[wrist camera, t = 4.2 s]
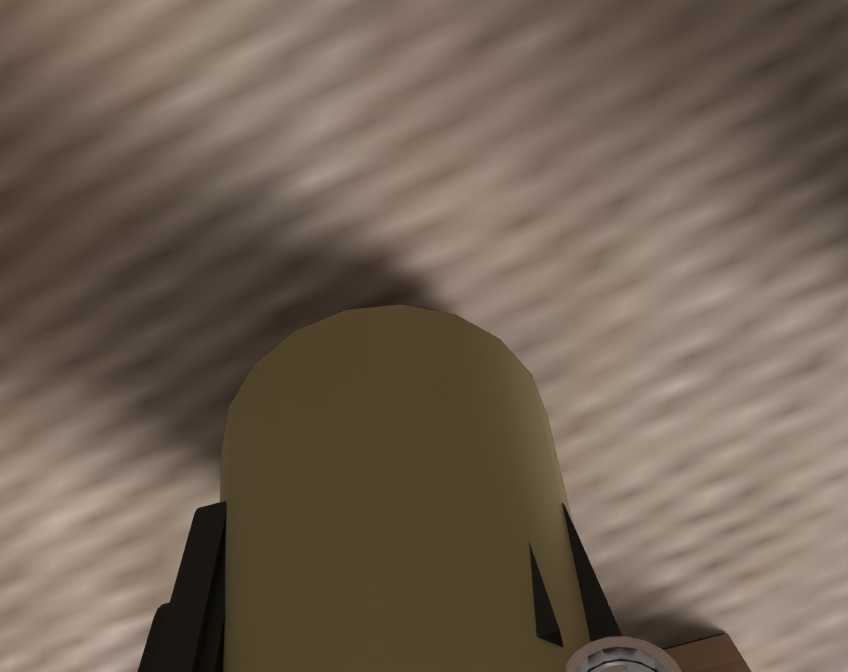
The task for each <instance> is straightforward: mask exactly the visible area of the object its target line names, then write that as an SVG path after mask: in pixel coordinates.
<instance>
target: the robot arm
mask: <svg viewBox="0 0 848 672" xmlns="http://www.w3.org/2000/svg"><path fill="white" fill-rule="evenodd" d="M562 505H563V510H564V514H565V519H566V524H567V529H568V534H569V539H570V544H571V548H572V553H573V558H574V563H575V568H576V573H577V578H578V583H579V588H580V593H581V597H582V602H583V607H584V612H585V617H586V622H587V627H588V632H589V637H590V643H588V644H587V645H585V646H584V647H582V648H580V649H579V650H577V651H576V652H575V653H574V654H573V655H572V656H571V658H570V659H569V660H568V661H567V663H566V670H567V672H682V671H681V669H680V668H679V666H678V664H677V662H676V661H674V660H673V659H672V658H671V657H670V656H669V655H668V654H667V653H666V652H665V651H664V650H663V649H661V648H659V647H657V646H655V645H653V644H651V643H649V642H647V641H645V640H641V639H636V638H632V637H628V636H622V634H621V632H620V630H619V627H618V625H617V623H616V621H615V618H614V616H613V614H612V612H611V609H610V607H609V605H608V602H607V600H606V598H605V596H604V593H603V591H602V589H601V586H600V584H599V582H598V580H597V577H596V575H595V573H594V571H593V568H592V566H591V564H590V561H589V559H588V557H587V555H586V552H585V550H584V548H583V546H582V543H581V541H580V539H579V536H578V534H577V532H576V530H575V527H574V525H573V523H572V520H571V518H570V516H569V514H568V511H567V509H566V507H565V505H564V503H563V502H562ZM226 513H227V504H226V501H223V502H219V503H216V504H212V505H208V506H204V507H200V508H198V509H197V510H196V512H195V514H194V517H193V521H192V525H191V528H190V532H189V535H188V539H187V543H186V546H185V550H184V553H183V557H182V561H181V564H180V568H179V571H178V575H177V579H176V582H175V586H174V589H173V593H172V597H171V600H170V603H166V604H162V605H161V606H160V607H159V608H158V609H157V611H156V614H155V616H154V619H153V622H152V625H151V629H150V632H149V635H148V639H147V642H146V646H145V649H144V652H143V656H142V659H141V662H140V666H139V669H138V672H223V650H224V628H225V532H226ZM529 548H530V560H531V572H532V585H533V597H534V609H535V622H536V634H537V637H539V638H541V639H544V640H546V641H548V642H551V643H553V644H556V645H558V646H561V647H563V648H564V646H563V642H562V637H561V633H560V629H559V626H558V623H557V620H556V617H555V614H554V612H553V609H552V606H551V603H550V600H549V597H548V594H547V591H546V588H545V586H544V583H543V580H542V577H541V574H540V571H539V568H538V565H537V562H536V559H535V557H534V554H533V551H532V548H531V545H530V542H529Z"/></svg>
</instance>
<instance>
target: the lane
mask: <svg viewBox="0 0 848 672" xmlns="http://www.w3.org/2000/svg"><path fill="white" fill-rule="evenodd" d="M664 651H665V652H666V653H667V654H668V655H669V656H670V657H671V658H672V659H673V660H674V661H676V662H677V664H678V666H679V668H680V669H681V671H682V672H751V670H750V669H749V667H748V665H747V664H746V662H745V661H744V659H743V657H742V656H741V654H740V653H739V651H738V649H737V648H736V646H735V645H734V643H733V641H732V640H731V638H730V637H729V635H728V634H723V635H719V636H715V637H711V638H708V639H704V640H700V641H696V642H692V643H688V644H684V645H680V646H677V647H673V648H669V649H665V650H664Z"/></svg>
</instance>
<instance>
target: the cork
mask: <svg viewBox="0 0 848 672" xmlns="http://www.w3.org/2000/svg"><path fill="white" fill-rule="evenodd" d="M223 501H226V504H227V513H226V532H225V628H224V650H223V672H567V670H566V663H567V661H568V660H569V659H570V658H571V656H572V655H573V654H574V653H575V652H576V651H577V650H579V649H580V648H582V647H584V646H585V645H587V644H588V643H590V637H589V632H588V627H587V622H586V617H585V612H584V607H583V602H582V597H581V593H580V588H579V583H578V578H577V573H576V568H575V563H574V558H573V553H572V548H571V544H570V539H569V534H568V529H567V524H566V519H565V514H564V510H563V505H562V502H563V503H564V505H565V507H566V509H567V511H568V514H569V516H570V518H571V520H572V517H571V513H570V508H569V504H568V500H567V496H566V492H565V487H564V483H563V479H562V475H561V470H560V466H559V462H558V458H557V454H556V449H555V445H554V441H553V437H552V433H551V428H550V424H549V420H548V416H547V413H546V410H545V408H544V405H543V403H542V400H541V397H540V395H539V392H538V389H537V387H536V384H535V381H534V379H533V376H532V374H531V373H530V372H529V371H528V370H527V369H526V367H525V366H524V365H523V364H522V363H521V362H520V361H519V360H518V358H517V357H516V356H515V355H514V354H513V353H512V352H511V351H510V349H509V348H508V347H507V346H506V345H505V344H504V343H503V342H502V341H501V339H499V338H497V337H495V336H493V335H492V334H490V333H488V332H486V331H484V330H482V329H481V328H479V327H477V326H475V325H473V324H472V323H470V322H468V321H466V320H464V319H462V318H461V317H459V316H457V315H454V314H449V313H444V312H439V311H434V310H429V309H423V308H418V307H413V306H408V305H403V304H400V305H390V306H380V307H370V308H360V309H350V310H344V311H342V312H339V313H337V314H335V315H332V316H330V317H327V318H325V319H323V320H320V321H318V322H315V323H313V324H310V325H308V326H306V327H303V328H301V329H298V330H296V331H294V332H293V333H291V334H290V335H289V336H288V337H287V338H285V339H284V340H283V341H282V342H281V343H279V344H278V345H277V346H276V347H275V348H274V349H272V350H271V351H270V352H269V353H268V354H266V355H265V356H264V357H263V358H262V359H260V360H259V361H258V362H257V363H256V364H255V365H253V367H252V369H251V370H250V372H249V374H248V376H247V377H246V379H245V381H244V382H243V384H242V386H241V387H240V389H239V391H238V392H237V394H236V396H235V397H234V399H233V401H232V403H231V404H230V406H229V408H228V414H227V420H226V426H225V432H224V438H223V444H222V450H221V485H220V502H223ZM572 523H573V521H572ZM529 542H530V545H531V548H532V551H533V554H534V557H535V559H536V562H537V565H538V568H539V571H540V574H541V577H542V580H543V583H544V586H545V588H546V591H547V594H548V597H549V600H550V603H551V606H552V609H553V612H554V614H555V617H556V620H557V623H558V626H559V629H560V633H561V637H562V642H563V646H564V648H563V647H561V646H558V645H556V644H553V643H551V642H548V641H546V640H544V639H541V638H539V637H537V634H536V622H535V609H534V597H533V585H532V572H531V560H530V548H529Z"/></svg>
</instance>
